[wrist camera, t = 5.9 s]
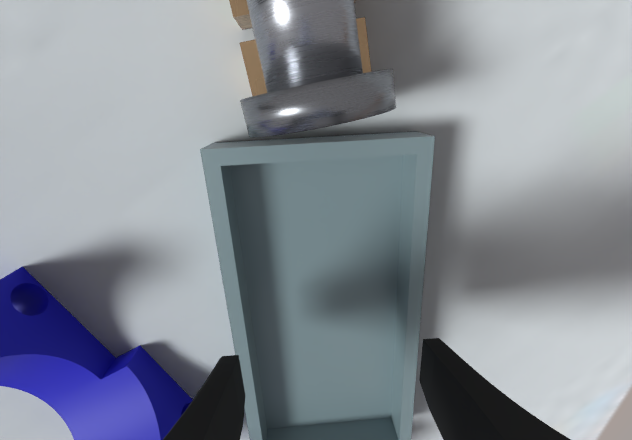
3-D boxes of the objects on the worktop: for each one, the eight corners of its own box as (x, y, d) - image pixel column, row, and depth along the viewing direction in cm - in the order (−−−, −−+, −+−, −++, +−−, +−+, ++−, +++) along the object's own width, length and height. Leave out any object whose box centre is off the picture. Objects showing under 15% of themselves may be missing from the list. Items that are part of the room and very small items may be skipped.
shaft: (369, 105, 13) (419, 107, 8) (260, 127, 13) (237, 144, 8) (350, -49, 11) (399, -177, 6) (223, -23, 11) (163, -127, 6)
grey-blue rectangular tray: (399, 417, 19) (410, 450, 17) (258, 430, 18) (254, 465, 17) (416, 131, 13) (434, 135, 11) (213, 142, 13) (200, 149, 11)
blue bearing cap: (211, 416, 18) (174, 557, 13) (146, 446, 19) (82, 595, 13) (51, 249, 14) (-110, 347, 9) (-26, 294, 15) (-225, 415, 9)
